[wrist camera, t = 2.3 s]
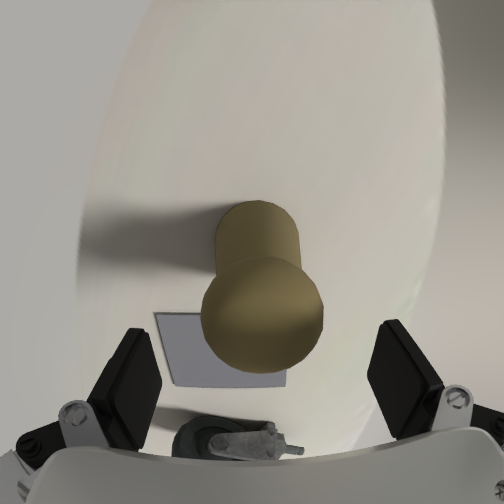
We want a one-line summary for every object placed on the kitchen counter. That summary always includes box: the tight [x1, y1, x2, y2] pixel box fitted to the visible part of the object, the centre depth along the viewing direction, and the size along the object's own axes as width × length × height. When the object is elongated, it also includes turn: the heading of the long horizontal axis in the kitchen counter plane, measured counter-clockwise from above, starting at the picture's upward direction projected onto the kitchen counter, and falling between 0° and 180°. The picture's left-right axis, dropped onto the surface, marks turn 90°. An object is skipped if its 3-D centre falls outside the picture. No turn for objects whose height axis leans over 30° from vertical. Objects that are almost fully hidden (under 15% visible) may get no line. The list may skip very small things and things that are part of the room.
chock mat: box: [156, 313, 287, 388], centre depth 24 cm, size 9×11×1 cm
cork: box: [200, 200, 324, 374], centre depth 15 cm, size 6×6×11 cm
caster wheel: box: [171, 416, 304, 461], centre depth 25 cm, size 6×10×15 cm
